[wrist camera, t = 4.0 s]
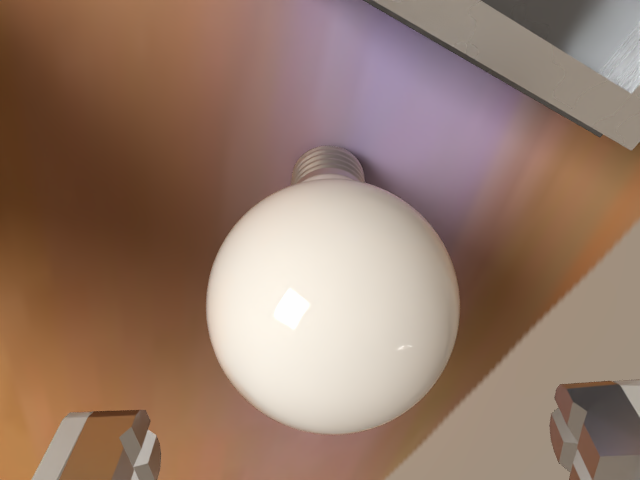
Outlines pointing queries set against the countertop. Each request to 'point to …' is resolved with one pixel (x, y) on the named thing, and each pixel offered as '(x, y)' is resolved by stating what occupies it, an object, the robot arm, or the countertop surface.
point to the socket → (546, 52)
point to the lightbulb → (332, 301)
